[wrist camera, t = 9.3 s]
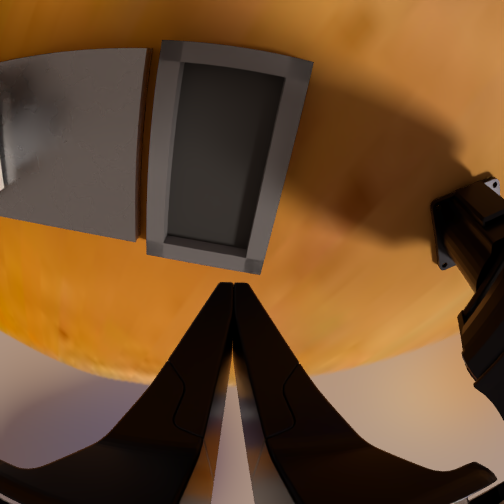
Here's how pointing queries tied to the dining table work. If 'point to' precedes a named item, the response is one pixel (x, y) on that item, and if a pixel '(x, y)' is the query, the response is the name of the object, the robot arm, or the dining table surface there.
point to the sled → (1, 178)
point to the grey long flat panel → (74, 139)
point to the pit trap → (220, 151)
